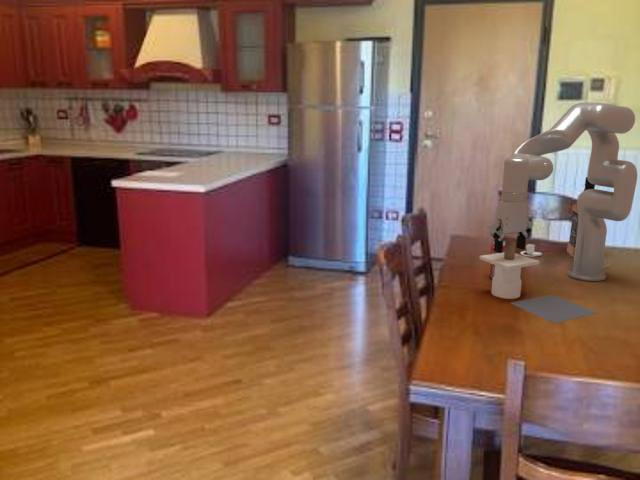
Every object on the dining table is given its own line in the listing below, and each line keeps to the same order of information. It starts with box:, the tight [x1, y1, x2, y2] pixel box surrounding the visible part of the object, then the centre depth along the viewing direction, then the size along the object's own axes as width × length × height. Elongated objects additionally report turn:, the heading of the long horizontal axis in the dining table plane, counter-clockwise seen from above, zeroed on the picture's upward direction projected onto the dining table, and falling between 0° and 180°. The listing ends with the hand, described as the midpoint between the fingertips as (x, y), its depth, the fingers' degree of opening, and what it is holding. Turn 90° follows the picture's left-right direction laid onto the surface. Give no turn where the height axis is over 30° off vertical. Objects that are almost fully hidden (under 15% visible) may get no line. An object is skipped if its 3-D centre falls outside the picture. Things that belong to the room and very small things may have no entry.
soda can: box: [489, 240, 505, 279], centre depth 211 cm, size 7×7×13 cm
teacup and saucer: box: [519, 243, 542, 258], centre depth 243 cm, size 9×8×4 cm
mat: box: [509, 294, 599, 324], centre depth 181 cm, size 18×18×1 cm
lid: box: [478, 238, 540, 270], centre depth 190 cm, size 13×13×7 cm
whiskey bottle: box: [566, 176, 596, 258], centre depth 239 cm, size 10×10×32 cm
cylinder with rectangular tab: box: [491, 265, 522, 300], centre depth 192 cm, size 9×9×12 cm
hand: (509, 250), depth 190 cm, fingers open, 9 cm apart
